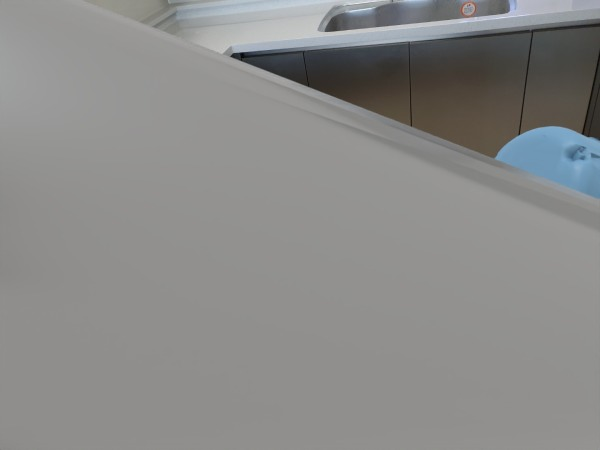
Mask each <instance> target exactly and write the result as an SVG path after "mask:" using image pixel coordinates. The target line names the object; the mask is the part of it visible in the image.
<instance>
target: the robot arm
mask: <svg viewBox="0 0 600 450" xmlns="http://www.w3.org/2000/svg"><path fill="white" fill-rule="evenodd" d="M0 450H600V140H599V138H597V137H592V136H590V137H588V136H586V135H584V134H581V133H579V132H578V131H575V130H573V129H570V128H567V127H563V126H555V125H551V126H550V125H549V126H542V127H537V128H533V129H530V130H528V131H525V132H523V133H521V134H519V135H517V136H516V137H514V138H512V139H511V140H510V141H508V142H507V143H506V144H505V145H504V146H503V147H502V148H501V149H500V150H499V151H498V152H497V155H496V156H495V157H491V156H488V155H486V154H482V153H481V152H478V151H475V150H472V149H470V148H468V147H466V146H465V147H464V146H462V145H460V144H457V143H454V142H452V141H449V140H447V139H444V138H441V137H439V136H436V135H434V134H431V133H428V132H425V131H423V130H420V129H418V128H416V127H413V126H410V125H408V124H406V123H403V122H400V121H397V120H395V119H392V118H390V117H387V116H385V115H381V114H379V113H376V112H374V111H372V110H369V109H367V108H364V107H362V106H358V105H356V104H353V103H351V102H349V101H346V100H343V99H340V98H338V97H335V96H332V95H330V94H327V93H325V92H322V91H320V90H317V89H314V88H312V87H309V86H306V85H304V84H301V83H299V82H296V81H294V80H291V79H289V78H286V77H283V76H281V75H278V74H275V73H273V72H271V71H268V70H266V69H262V68H261V67H257V66H254V65H252V64H250V63H247V62H244V61H241V60H239V59H238V58H234V57H231V56H229V55H226V54H223V53H221V52H219V51H216V50H213V49H210V48H208V47H205V46H203V45H200V44H198V43H195V42H193V41H189V40H187V39H184V38H182V37H179V36H177V35H175V34H171V33H169V32H166V31H164V30H161V29H158V28H156V27H154V26H151V25H148V24H146V23H143V22H141V21H138V20H135V19H133V18H131V17H127V16H125V15H122V14H121V13H117V12H115V11H112V10H110V9H107V8H104V7H102V6H99V5H96V4H94V3H91V2H88V1H85V0H0Z"/></svg>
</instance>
